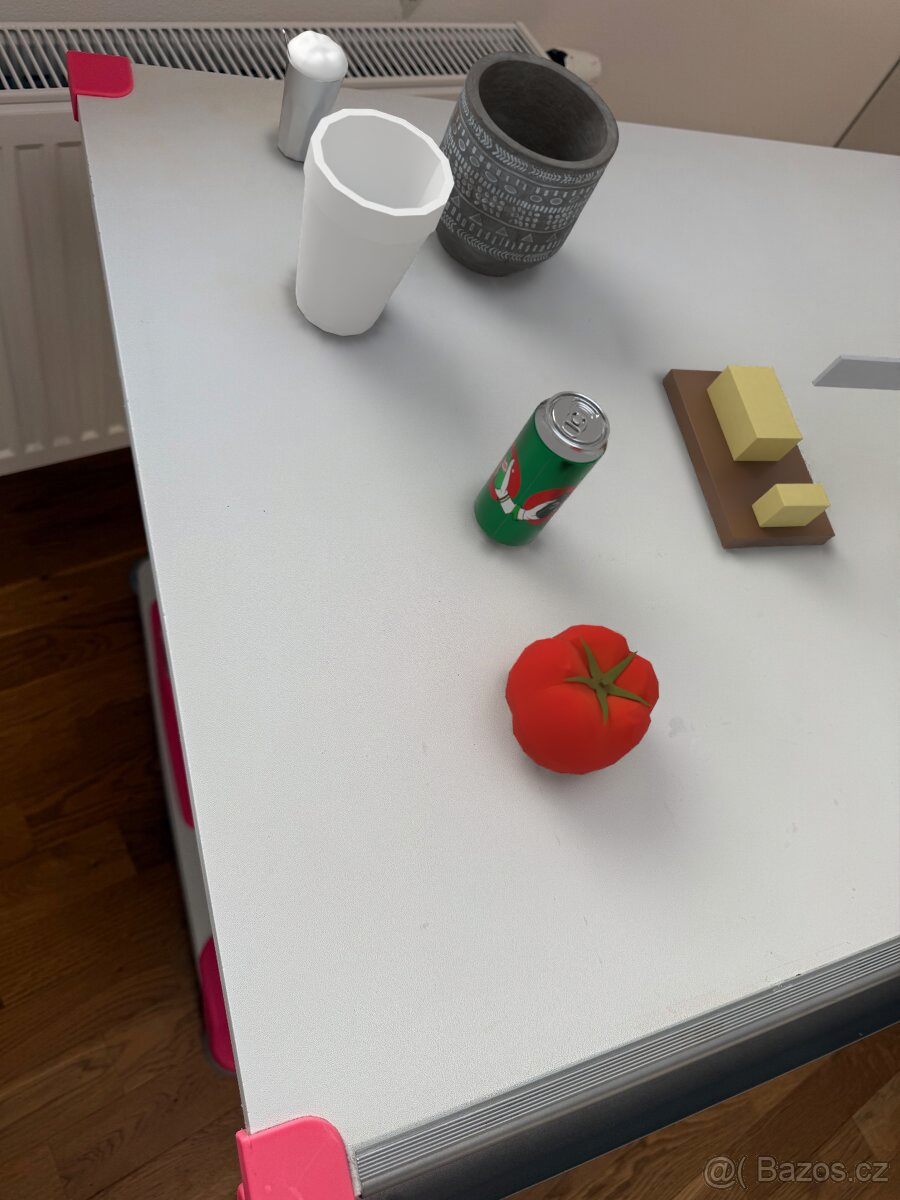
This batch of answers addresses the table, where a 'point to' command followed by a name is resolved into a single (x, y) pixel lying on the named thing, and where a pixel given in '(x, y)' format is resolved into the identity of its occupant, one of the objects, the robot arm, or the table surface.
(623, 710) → the tomato
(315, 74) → the milkshake
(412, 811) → the table surface
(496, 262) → the planter
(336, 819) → the table surface
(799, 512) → the butter pat
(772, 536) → the board
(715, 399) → the butter stick
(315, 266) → the foam cup
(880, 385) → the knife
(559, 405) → the soda can
